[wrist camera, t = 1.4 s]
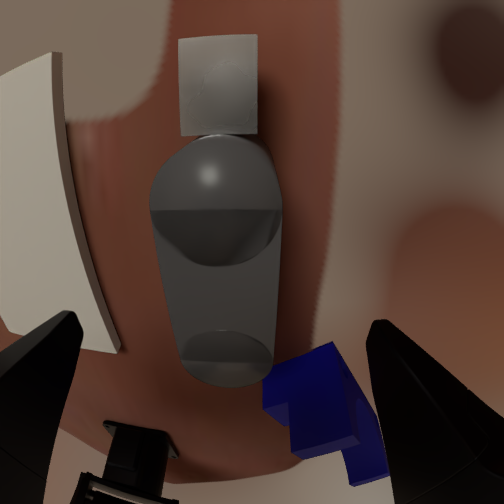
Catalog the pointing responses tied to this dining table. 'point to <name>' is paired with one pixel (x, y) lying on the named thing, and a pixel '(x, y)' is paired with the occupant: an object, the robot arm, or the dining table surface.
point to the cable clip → (326, 412)
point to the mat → (43, 212)
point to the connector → (220, 218)
